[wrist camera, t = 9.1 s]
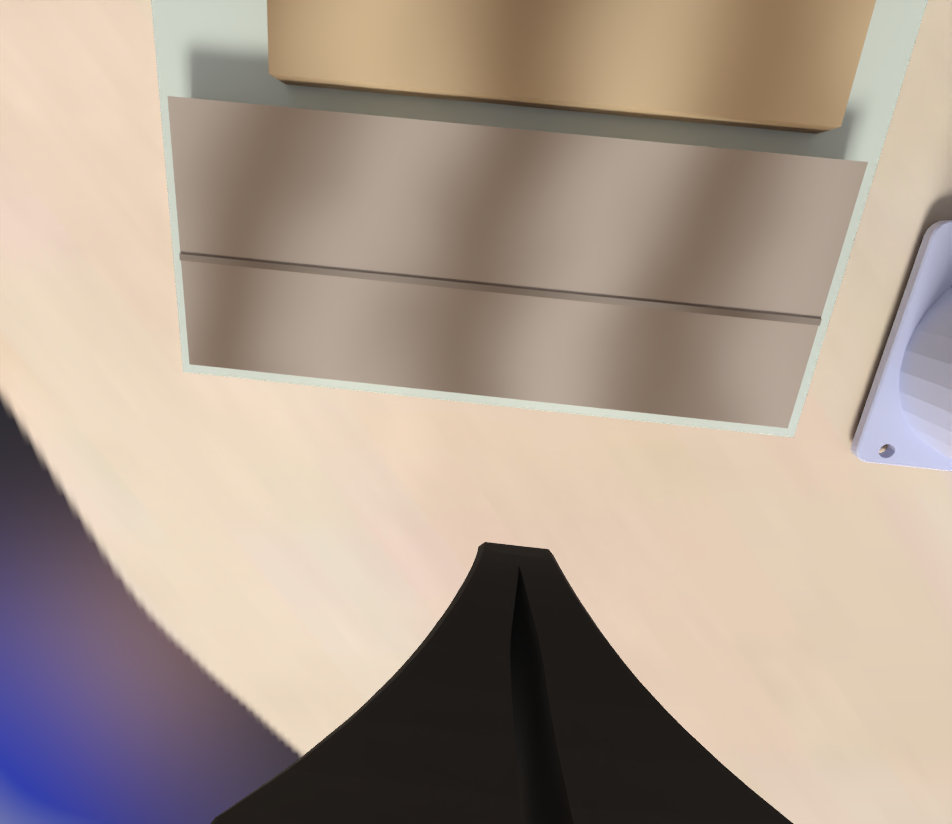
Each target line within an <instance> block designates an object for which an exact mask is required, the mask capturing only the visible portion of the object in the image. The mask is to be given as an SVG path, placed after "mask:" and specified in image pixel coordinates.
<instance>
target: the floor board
mask: <svg viewBox="0 0 952 824" xmlns="http://www.w3.org/2000/svg"><path fill="white" fill-rule="evenodd" d="M167 97H168V109H169V121H170V133H171V145H172V158H173V170H174V182H175V194H176V206H177V219H178V231H179V243H180V254H179V257H180V260H181V267H182V280H183V292H184V304H185V316H186V329H187V341H188V353H189V364H191V365H200V366H210V367H219V368H229V369H238V370H247V371H257V372H266V373H275V374H285V375H294V376H303V377H313V378H322V379H331V380H341V381H350V382H359V383H369V384H378V385H387V386H397V387H406V388H415V389H425V390H434V391H443V392H453V393H462V394H471V395H481V396H490V397H500V398H509V399H518V400H528V401H537V402H546V403H556V404H565V405H574V406H584V407H593V408H602V409H612V410H621V411H630V412H640V413H649V414H658V415H668V416H677V417H686V418H696V419H705V420H714V421H724V422H733V423H742V424H752V425H761V426H771V427H780V428H788V426H789V423H790V419H791V416H792V413H793V409H794V406H795V403H796V399H797V396H798V393H799V389H800V386H801V383H802V379H803V376H804V373H805V369H806V366H807V363H808V360H809V356H810V353H811V350H812V346H813V343H814V340H815V336H816V333H817V330H818V326H820V324H821V320H822V319H821V316H822V313H823V310H824V306H825V303H826V300H827V297H828V293H829V290H830V287H831V283H832V280H833V277H834V273H835V270H836V267H837V263H838V260H839V257H840V253H841V250H842V247H843V243H844V240H845V237H846V234H847V230H848V227H849V224H850V220H851V217H852V214H853V210H854V207H855V204H856V200H857V197H858V194H859V190H860V187H861V184H862V180H863V177H864V174H865V171H866V167H867V164H868V162H863V161H852V160H842V159H831V158H821V157H810V156H799V155H789V154H778V153H767V152H757V151H746V150H736V149H725V148H714V147H704V146H693V145H683V144H672V143H661V142H651V141H640V140H630V139H619V138H608V137H598V136H587V135H577V134H566V133H555V132H545V131H534V130H523V129H513V128H502V127H492V126H481V125H470V124H460V123H449V122H439V121H428V120H417V119H407V118H396V117H386V116H375V115H364V114H354V113H343V112H333V111H322V110H311V109H301V108H290V107H280V106H269V105H258V104H248V103H237V102H226V101H216V100H205V99H195V98H184V97H173V96H167Z"/></svg>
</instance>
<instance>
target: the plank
mask: <svg viewBox="0 0 952 824" xmlns="http://www.w3.org/2000/svg"><path fill="white" fill-rule="evenodd" d="M875 3H876V0H267V26H268V64H269V74H270V75H272V76H273V77H275V78H276V79H278V80H279V81H281V82H283V83H284V84H287V85H298V86H309V87H319V88H330V89H341V90H352V91H362V92H373V93H384V94H395V95H405V96H416V97H427V98H437V99H448V100H459V101H470V102H480V103H491V104H502V105H513V106H523V107H534V108H545V109H556V110H566V111H577V112H588V113H598V114H609V115H620V116H631V117H641V118H652V119H663V120H674V121H684V122H695V123H706V124H717V125H727V126H738V127H749V128H759V129H770V130H781V131H792V132H802V133H813V134H819V133H822V132H825V131H828V130H832V129H835V128H838V127H841V125H842V121H843V117H844V114H845V110H846V107H847V103H848V99H849V96H850V92H851V89H852V85H853V82H854V78H855V74H856V71H857V67H858V64H859V60H860V57H861V53H862V49H863V46H864V42H865V39H866V35H867V31H868V28H869V24H870V21H871V17H872V14H873V10H874V6H875Z"/></svg>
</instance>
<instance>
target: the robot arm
mask: <svg viewBox="0 0 952 824" xmlns="http://www.w3.org/2000/svg"><path fill="white" fill-rule="evenodd" d="M885 444H888V446H887V449H886V450H885V451H884V452H882V453H879V450H880V448H881V447H882V446H884V445H885ZM851 451H852V453H853V455H855V456H856V457H857V458H858V459H860V460H861V461H865V462H870V463H879V464H889V465H898V466H907V467H916V468H926V469H935V470H944V471H952V220H943V221H938V222H936V223H934V224H932V225H931V226H930V227H929V228H928V229H927V231H926V233H925V235H924V237H923V240H922V243H921V246H920V248H919V251H918V254H917V257H916V260H915V263H914V266H913V269H912V271H911V274H910V277H909V280H908V283H907V286H906V289H905V292H904V295H903V297H902V300H901V303H900V306H899V309H898V312H897V315H896V318H895V321H894V323H893V326H892V329H891V332H890V335H889V338H888V341H887V344H886V347H885V349H884V352H883V355H882V358H881V361H880V364H879V367H878V370H877V373H876V375H875V378H874V381H873V384H872V387H871V390H870V393H869V396H868V398H867V401H866V404H865V407H864V410H863V413H862V416H861V419H860V422H859V424H858V427H857V430H856V433H855V436H854V439H853V442H852V446H851ZM211 824H793V823H792V822H791V821H789V820H788V819H787V818H786V817H784V816H783V815H782V814H781V813H780V812H778V811H777V810H776V809H775V808H773V807H772V806H771V805H770V804H769V803H767V802H766V801H765V800H764V799H762V798H761V797H760V796H759V795H757V794H756V793H755V792H754V791H753V790H751V789H750V788H749V787H748V786H747V785H745V784H744V783H743V782H742V781H741V780H740V779H739V778H737V777H736V776H735V775H734V774H733V773H732V772H731V771H729V770H728V769H727V768H726V767H725V766H724V765H723V764H721V763H720V762H719V761H718V760H717V759H716V758H715V757H714V756H713V755H712V754H711V753H710V752H708V751H707V750H706V749H705V748H704V747H703V746H702V745H701V744H700V743H699V742H698V741H697V740H696V739H695V738H694V737H693V736H691V735H690V734H689V733H688V732H687V731H686V730H685V729H684V728H683V727H682V726H681V725H680V724H679V723H678V722H677V721H676V720H675V719H674V718H673V717H672V716H671V715H670V714H669V713H668V712H667V711H666V710H665V709H664V708H663V707H662V705H661V704H660V703H659V702H658V701H657V700H656V699H655V698H654V697H653V696H652V695H651V693H650V692H649V691H648V690H647V689H646V688H645V687H644V686H643V685H642V684H641V682H640V681H639V680H638V679H637V678H636V677H635V675H634V674H633V673H632V672H631V671H630V669H629V668H628V667H627V666H626V664H625V663H624V662H623V661H622V659H621V658H620V657H619V655H618V654H617V653H616V652H615V650H614V649H613V648H612V646H611V645H610V644H609V642H608V641H607V640H606V638H605V637H604V635H603V634H602V633H601V631H600V630H599V629H598V627H597V626H596V624H595V623H594V621H593V620H592V618H591V617H590V615H589V614H588V612H587V611H586V609H585V608H584V606H583V605H582V603H581V602H580V600H579V599H578V597H577V596H576V594H575V592H574V591H573V589H572V587H571V586H570V584H569V582H568V581H567V579H566V577H565V576H564V574H563V572H562V570H561V569H560V567H559V565H558V563H557V561H556V559H555V558H554V556H553V554H552V553H551V552H550V551H549V549H540V548H532V547H523V546H514V545H505V544H497V543H488V542H485V543H483V544H482V545H480V546H479V547H478V552H477V555H476V558H475V561H474V563H473V565H472V567H471V570H470V571H469V573H468V575H467V577H466V579H465V581H464V583H463V584H462V586H461V588H460V589H459V591H458V593H457V594H456V596H455V598H454V599H453V601H452V602H451V604H450V606H449V607H448V609H447V610H446V611H445V613H444V614H443V616H442V617H441V618H440V620H439V621H438V622H437V624H436V625H435V627H434V628H433V629H432V631H431V632H430V633H429V635H428V636H427V637H426V639H425V640H424V641H423V642H422V644H421V645H420V646H419V647H418V648H417V650H416V651H415V652H414V653H413V654H412V656H411V657H410V658H409V659H408V660H407V661H406V662H405V663H404V665H403V666H402V667H401V668H400V669H399V670H398V671H397V672H396V673H395V674H394V675H393V677H392V678H391V679H390V680H389V681H388V682H387V683H386V684H385V685H384V686H383V687H382V688H381V689H379V690H378V691H377V692H376V693H375V694H374V695H373V696H372V697H371V698H370V699H369V700H368V701H367V702H366V703H365V704H364V705H363V706H362V707H361V708H360V709H359V710H358V711H357V712H355V713H354V714H353V715H352V716H351V717H350V718H349V719H348V720H346V721H345V722H344V723H343V724H342V725H340V726H339V727H338V728H337V729H335V730H334V731H333V732H332V733H331V734H329V735H328V736H327V737H326V738H324V739H323V740H322V741H321V742H320V743H318V744H317V745H316V746H315V747H314V748H312V749H311V750H310V751H309V752H307V753H306V754H305V755H304V756H303V757H301V758H300V759H299V760H297V761H296V762H295V763H293V764H292V765H291V766H289V767H288V768H287V769H285V770H284V771H282V772H281V773H280V774H278V775H277V776H275V777H274V778H272V779H271V780H269V781H268V782H267V783H265V784H264V785H262V786H261V787H259V788H258V789H256V790H255V791H254V792H252V793H251V794H249V795H248V796H246V797H245V798H243V799H242V800H241V801H239V802H238V803H236V804H235V805H233V806H232V807H231V808H229V809H228V810H226V811H224V812H223V813H221V814H220V815H218V816H217V817H216V818H215V819H214V820H213V821H212V823H211Z"/></svg>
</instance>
